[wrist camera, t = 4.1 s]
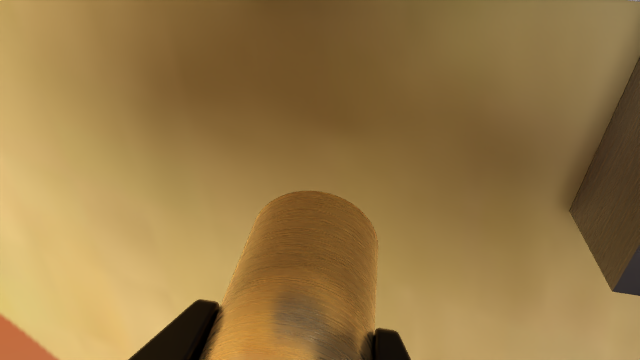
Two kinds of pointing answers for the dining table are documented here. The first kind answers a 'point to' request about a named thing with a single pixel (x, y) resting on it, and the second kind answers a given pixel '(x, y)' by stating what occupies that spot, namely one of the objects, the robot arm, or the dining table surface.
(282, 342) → the pin
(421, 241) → the dining table surface
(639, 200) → the chain ends
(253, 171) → the dining table surface
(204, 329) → the robot arm
